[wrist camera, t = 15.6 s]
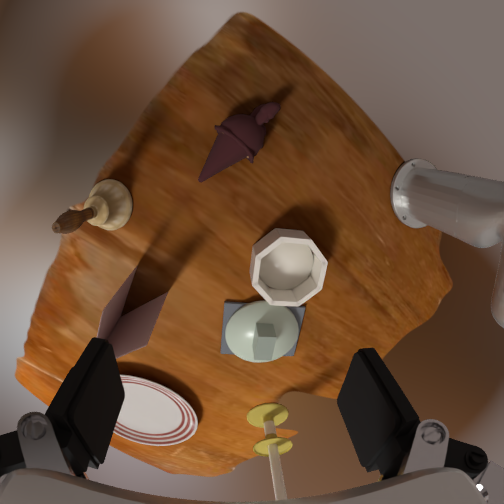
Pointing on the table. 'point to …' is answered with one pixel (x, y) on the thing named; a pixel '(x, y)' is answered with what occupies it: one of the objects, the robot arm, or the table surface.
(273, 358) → the lid
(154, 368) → the table surface
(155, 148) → the table surface
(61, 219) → the hand bell
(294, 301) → the bowl
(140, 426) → the dinner plate
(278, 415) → the candle
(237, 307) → the mat
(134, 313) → the greeting card
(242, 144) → the icecream
